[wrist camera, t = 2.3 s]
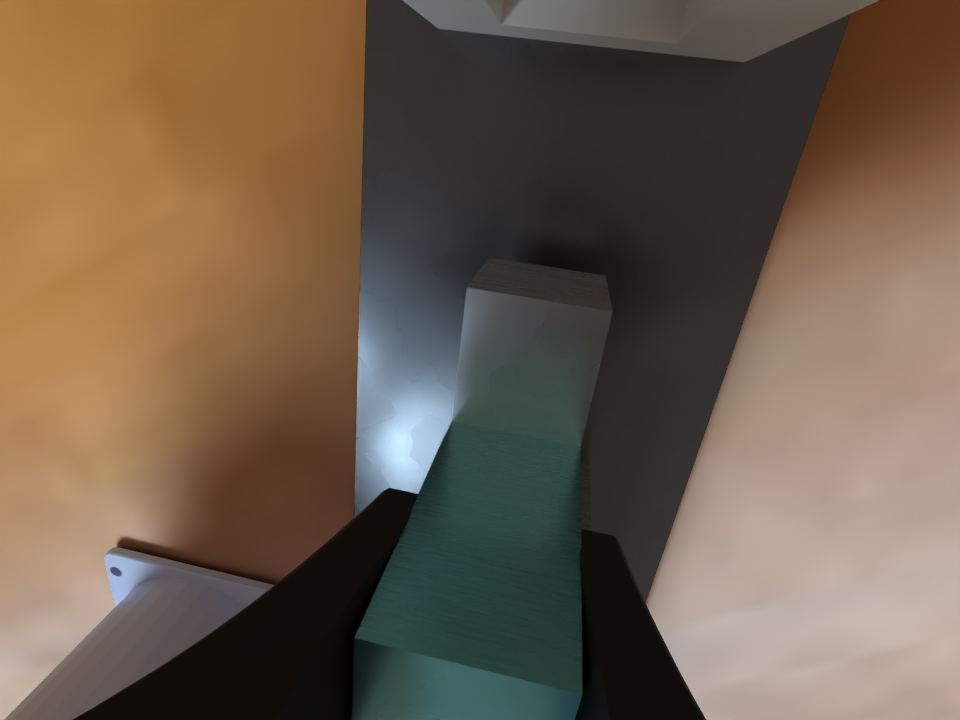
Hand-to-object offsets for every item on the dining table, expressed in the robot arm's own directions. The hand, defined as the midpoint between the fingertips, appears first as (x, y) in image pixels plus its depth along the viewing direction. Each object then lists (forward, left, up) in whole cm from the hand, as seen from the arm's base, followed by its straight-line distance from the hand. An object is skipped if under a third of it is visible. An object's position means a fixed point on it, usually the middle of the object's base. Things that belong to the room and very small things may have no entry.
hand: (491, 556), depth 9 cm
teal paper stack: (-4, 0, -5) cm, 6 cm away
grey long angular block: (0, 0, -7) cm, 7 cm away
